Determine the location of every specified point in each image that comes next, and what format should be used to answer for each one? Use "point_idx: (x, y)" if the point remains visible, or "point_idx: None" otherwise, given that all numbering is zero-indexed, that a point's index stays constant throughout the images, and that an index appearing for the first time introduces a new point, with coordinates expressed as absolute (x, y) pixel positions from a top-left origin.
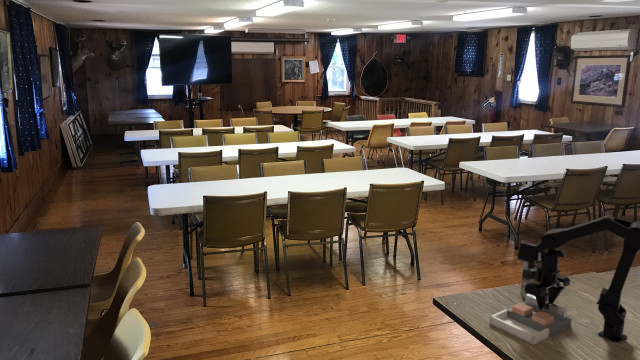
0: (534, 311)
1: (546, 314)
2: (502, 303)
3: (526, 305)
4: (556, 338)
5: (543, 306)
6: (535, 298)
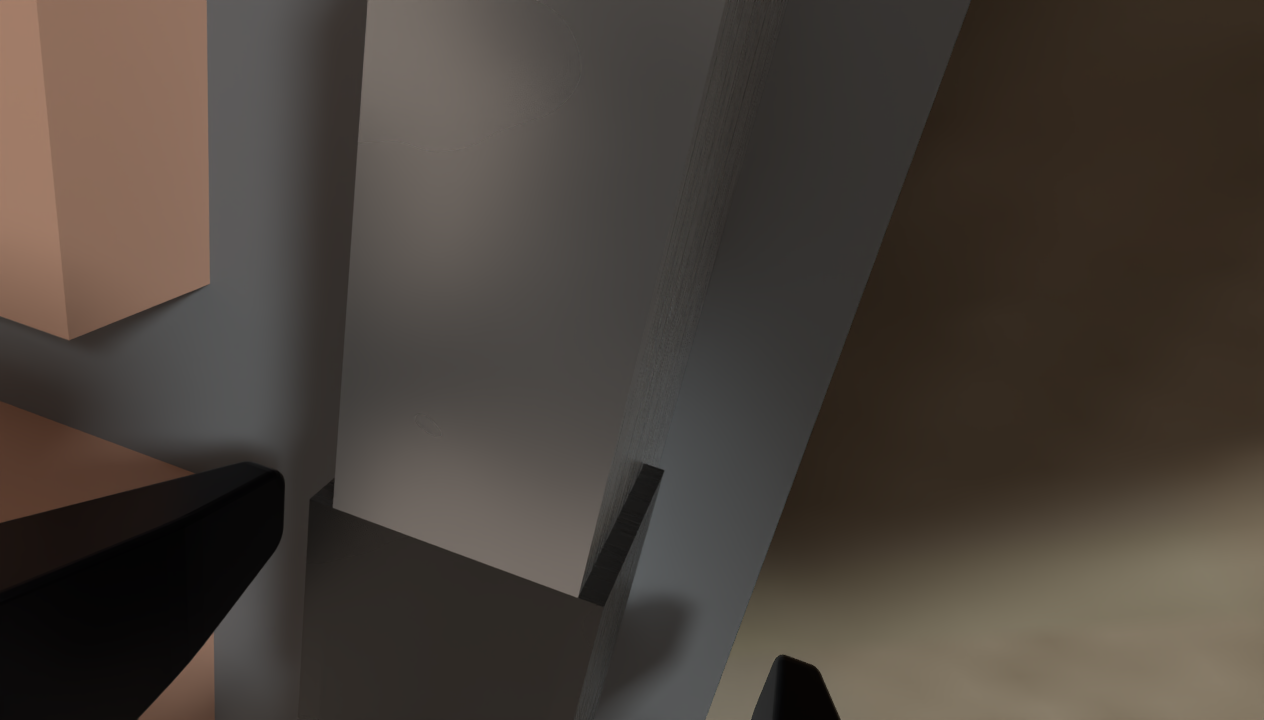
0: (315, 294)
1: None
2: None
3: (10, 89)
4: None
5: (173, 656)
6: (388, 325)
